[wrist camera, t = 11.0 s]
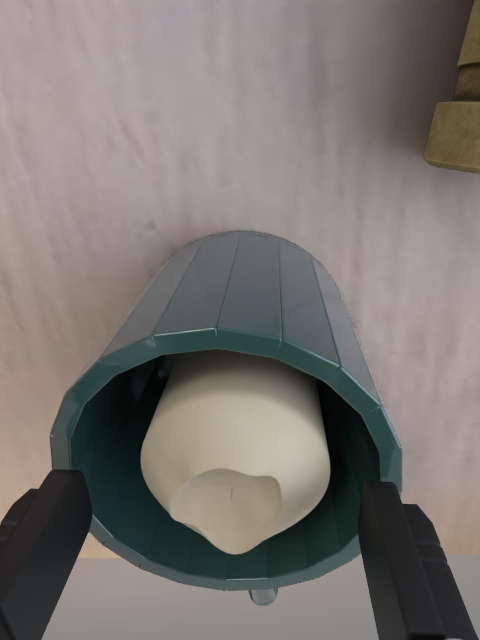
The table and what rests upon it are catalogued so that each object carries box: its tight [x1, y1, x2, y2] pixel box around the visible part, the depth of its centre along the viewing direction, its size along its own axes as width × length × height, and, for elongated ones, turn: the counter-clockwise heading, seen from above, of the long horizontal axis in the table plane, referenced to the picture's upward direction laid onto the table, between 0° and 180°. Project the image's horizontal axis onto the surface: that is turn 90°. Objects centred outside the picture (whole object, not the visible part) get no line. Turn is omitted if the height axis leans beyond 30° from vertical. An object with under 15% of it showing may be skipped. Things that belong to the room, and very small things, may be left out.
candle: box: [141, 349, 330, 554], centre depth 15 cm, size 6×6×10 cm
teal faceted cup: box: [50, 231, 402, 606], centre depth 17 cm, size 14×10×10 cm
